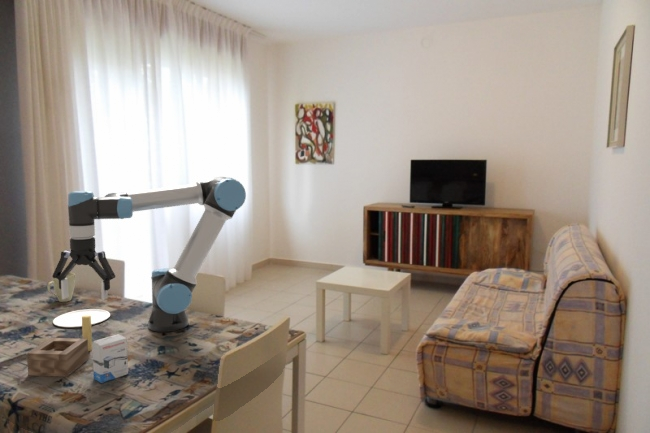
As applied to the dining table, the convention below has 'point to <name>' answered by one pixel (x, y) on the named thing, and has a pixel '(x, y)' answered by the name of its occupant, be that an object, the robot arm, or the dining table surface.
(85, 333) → the pin
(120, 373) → the ink box
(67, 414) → the dining table surface
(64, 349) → the bore block
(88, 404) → the dining table surface
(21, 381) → the dining table surface
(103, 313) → the plate
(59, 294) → the mug
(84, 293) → the dining table surface
